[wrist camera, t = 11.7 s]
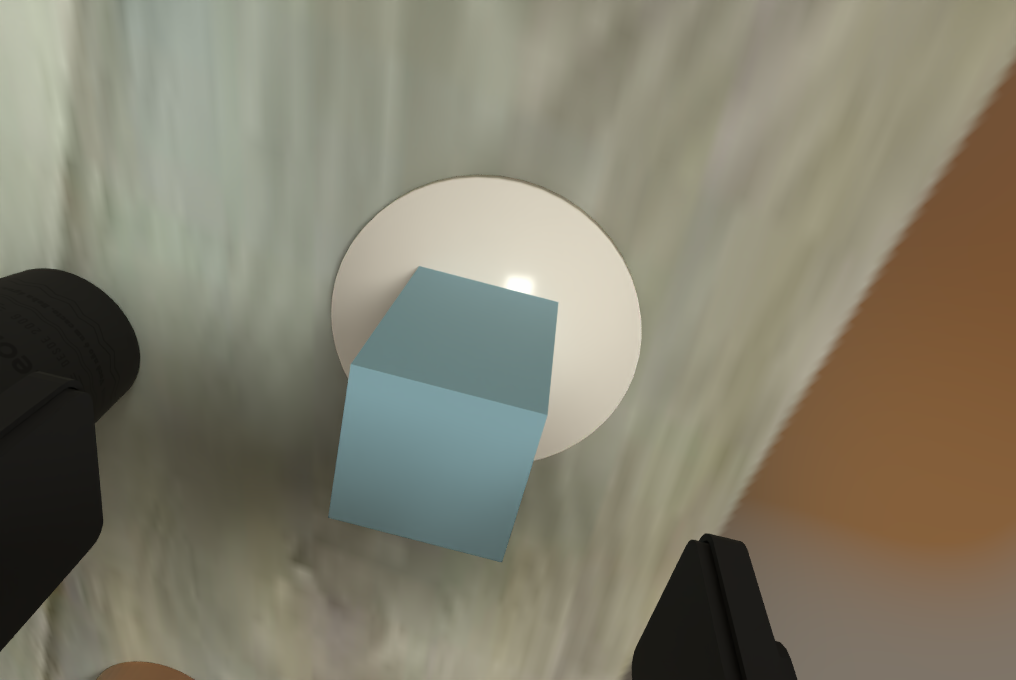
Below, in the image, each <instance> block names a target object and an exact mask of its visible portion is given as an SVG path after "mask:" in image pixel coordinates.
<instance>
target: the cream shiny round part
mask: <svg viewBox="0 0 1016 680" xmlns="http://www.w3.org/2000/svg"><path fill="white" fill-rule="evenodd" d="M419 266H421V267H425V268H429V269H433V270H437V271H441V272H444V273H448V274H452V275H456V276H460V277H464V278H468V279H471V280H475V281H479V282H483V283H487V284H491V285H494V286H498V287H502V288H506V289H510V290H514V291H518V292H521V293H525V294H529V295H533V296H537V297H541V298H544V299H548V300H552V301H556V302H559V303H558V313H557V323H556V334H555V344H554V354H553V364H552V375H551V385H550V395H549V406H548V415H547V419H546V422H545V425H544V428H543V432H542V435H541V438H540V441H539V444H538V448H537V451H536V454H535V457H534V461H535V460H539V459H543V458H546V457H548V456H551V455H554V454H556V453H559V452H562V451H563V450H565V449H567V448H569V447H571V446H573V445H575V444H577V443H578V442H580V441H581V440H583V439H584V438H586V437H587V436H588V435H590V434H591V433H593V432H594V431H595V430H596V429H597V428H598V427H599V426H600V425H601V424H602V423H604V422H605V421H606V419H607V418H608V417H609V416H610V415H611V414H612V412H613V411H614V410H615V409H616V408H617V406H618V405H619V403H620V401H621V400H622V398H623V397H624V395H625V393H626V392H627V390H628V387H629V385H630V383H631V381H632V379H633V376H634V373H635V370H636V366H637V363H638V359H639V354H640V346H641V315H640V309H639V303H638V297H637V292H636V289H635V286H634V283H633V279H632V276H631V273H630V271H629V269H628V267H627V265H626V263H625V261H624V259H623V256H622V255H621V253H620V252H619V250H618V249H617V247H616V246H615V244H614V243H613V241H612V239H611V238H610V237H609V236H608V235H607V233H606V232H605V231H604V230H603V229H602V228H601V227H600V226H599V224H598V223H597V222H596V221H595V220H593V219H592V218H591V217H590V216H589V215H588V214H587V213H585V212H584V211H583V210H582V209H581V208H579V207H578V206H576V205H575V204H573V203H572V202H570V201H569V200H567V199H566V198H564V197H563V196H561V195H559V194H557V193H554V192H552V191H550V190H548V189H546V188H544V187H542V186H539V185H536V184H533V183H530V182H527V181H524V180H520V179H514V178H509V177H504V176H495V175H466V176H456V177H451V178H446V179H442V180H437V181H434V182H431V183H429V184H426V185H423V186H421V187H418V188H416V189H414V190H412V191H410V192H408V193H406V194H404V195H403V196H401V197H399V198H397V199H396V200H395V201H393V202H392V203H391V204H389V205H388V206H387V207H385V208H384V209H383V210H382V211H380V212H379V213H378V214H377V215H376V216H375V217H374V218H373V219H372V220H371V221H370V222H369V223H368V224H367V225H366V226H365V227H364V228H363V229H362V230H361V232H360V233H359V234H358V236H357V237H356V238H355V240H354V241H353V242H352V244H351V245H350V247H349V249H348V251H347V253H346V255H345V257H344V258H343V260H342V263H341V265H340V268H339V271H338V274H337V277H336V280H335V285H334V290H333V295H332V307H331V321H332V332H333V338H334V342H335V347H336V351H337V354H338V357H339V359H340V362H341V365H342V368H343V370H344V372H345V374H346V376H347V378H348V379H349V372H350V366H351V363H352V362H353V360H354V359H355V357H356V356H357V354H358V353H359V352H360V350H361V349H362V347H363V346H364V344H365V343H366V342H367V340H368V339H369V337H370V336H371V334H372V333H373V332H374V330H375V329H376V327H377V326H378V324H379V323H380V321H381V320H382V319H383V317H384V316H385V314H386V313H387V311H388V310H389V309H390V307H391V306H392V304H393V303H394V301H395V300H396V299H397V297H398V296H399V294H400V293H401V291H402V290H403V289H404V287H405V286H406V284H407V283H408V281H409V280H410V279H411V277H412V276H413V274H414V273H415V271H416V270H417V269H418V267H419Z"/></svg>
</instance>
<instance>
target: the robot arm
mask: <svg viewBox="0 0 1016 680" xmlns="http://www.w3.org/2000/svg"><path fill="white" fill-rule="evenodd" d="M102 526H103V513H102V502H101V490H100V479H99V468H98V457H97V446H96V435H95V424H94V412H93V401H92V397H91V396H90V394H89V393H86V392H84V388H83V385H82V384H81V383H80V382H79V381H77V380H74V379H70V378H66V377H62V376H58V375H54V374H49V373H45V372H41V371H37V372H33V373H31V374H29V375H27V376H25V377H24V378H23V379H21V380H20V381H18V382H17V383H15V384H14V385H12V386H11V387H10V388H8V389H7V390H5V391H4V392H2V393H1V394H0V651H1V650H2V649H3V648H4V647H5V646H6V645H7V643H8V642H9V641H10V640H11V639H12V638H13V637H14V635H15V634H16V633H17V632H18V631H19V630H20V629H21V627H22V626H23V625H24V624H25V623H26V622H27V621H28V619H29V618H30V617H31V616H32V615H33V614H34V613H35V611H36V610H37V609H38V608H39V607H40V606H41V605H42V603H43V602H44V601H45V600H46V599H47V598H48V597H49V595H50V594H51V593H52V592H53V591H54V590H55V589H56V587H57V586H58V585H59V584H60V583H61V582H62V581H63V579H64V578H65V577H66V576H67V575H68V574H69V573H70V571H71V570H72V569H73V568H74V567H75V566H76V565H77V564H78V562H79V561H80V560H81V559H82V558H83V557H84V556H85V554H86V553H87V552H88V551H89V550H90V549H91V548H92V546H93V545H94V544H95V542H96V541H97V539H98V537H99V535H100V533H101V530H102ZM632 680H797V677H796V674H795V671H794V667H793V664H792V661H791V658H790V656H789V654H788V652H787V650H786V648H785V647H784V646H783V645H782V644H781V643H780V642H777V641H775V639H774V636H773V633H772V629H771V626H770V623H769V620H768V616H767V613H766V610H765V606H764V603H763V600H762V597H761V593H760V590H759V586H758V583H757V580H756V576H755V573H754V570H753V567H752V563H751V560H750V557H749V553H748V550H747V548H746V546H745V544H744V543H743V542H741V541H737V540H733V539H729V538H725V537H720V536H716V535H712V534H704V535H703V536H702V537H701V538H700V540H699V541H696V540H690V541H689V542H688V544H687V545H686V547H685V549H684V551H683V553H682V555H681V557H680V559H679V561H678V563H677V565H676V567H675V569H674V571H673V573H672V575H671V577H670V579H669V581H668V583H667V586H666V588H665V590H664V592H663V594H662V596H661V598H660V600H659V602H658V604H657V606H656V608H655V610H654V612H653V614H652V616H651V618H650V620H649V622H648V624H647V626H646V628H645V630H644V632H643V634H642V636H641V638H640V640H639V642H638V644H637V646H636V649H635V651H634V655H633V661H632Z"/></svg>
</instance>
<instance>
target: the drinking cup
mask: <svg viewBox="0 0 1016 680" xmlns="http://www.w3.org/2000/svg"><path fill="white" fill-rule="evenodd" d="M138 368H139V348H138V343H137V339H136V336H135V334H134V331H133V329H132V327H131V325H130V323H129V321H128V320H127V318H126V316H125V315H124V314H123V312H122V311H121V310H120V308H119V307H118V306H117V305H116V304H115V303H114V302H113V301H112V300H111V298H109V297H108V296H107V295H106V294H105V293H104V292H102V291H101V290H100V289H99V288H97V287H96V286H94V285H93V284H91V283H89V282H88V281H86V280H84V279H82V278H80V277H78V276H75V275H73V274H70V273H67V272H64V271H59V270H54V269H31V270H26V271H23V272H20V273H16V274H13V275H10V276H7V277H3V278H0V394H1V393H2V392H4V391H5V390H7V389H8V388H10V387H11V386H12V385H14V384H15V383H17V382H18V381H20V380H21V379H23V378H24V377H25V376H27V375H29V374H31V373H33V372H37V371H41V372H45V373H49V374H54V375H58V376H62V377H66V378H70V379H74V380H77V381H79V382H80V383H81V384H82V385H83V388H84V392H86V393H89V394H90V396H91V397H92V401H93V412H94V424H95V423H96V422H97V421H98V420H99V419H100V418H101V417H102V416H103V415H104V414H105V413H106V412H107V411H108V410H109V409H110V408H111V407H112V406H113V405H114V404H115V403H116V402H117V401H118V400H119V399H120V398H121V397H122V396H123V395H124V394H125V392H126V391H127V390H128V389H129V388H130V387H131V385H132V384H133V382H134V380H135V378H136V376H137V373H138Z"/></svg>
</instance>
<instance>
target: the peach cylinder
mask: <svg viewBox="0 0 1016 680" xmlns="http://www.w3.org/2000/svg"><path fill="white" fill-rule="evenodd" d="M96 680H194V679H193V678H191V677H189V676H188V675H186V674H184V673H182V672H180V671H177V670H175V669H172V668H170V667H167V666H163V665H160V664H155V663H149V662H124V663H119V664H116V665H113V666H111V667H109V668H107V669H106V670H105V671H103V672H102V673H101V674H100V676H99V677H98V678H97V679H96Z"/></svg>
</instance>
